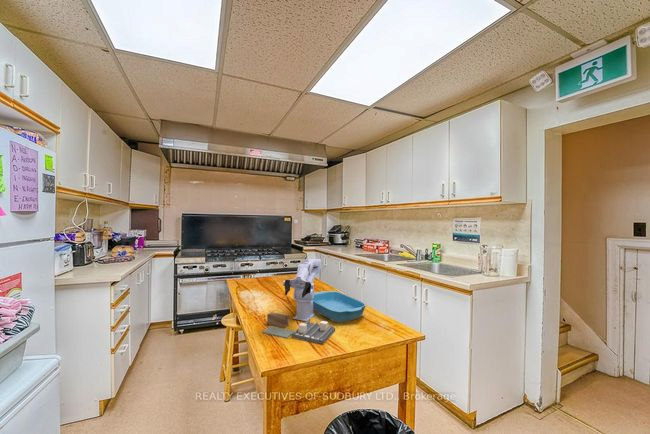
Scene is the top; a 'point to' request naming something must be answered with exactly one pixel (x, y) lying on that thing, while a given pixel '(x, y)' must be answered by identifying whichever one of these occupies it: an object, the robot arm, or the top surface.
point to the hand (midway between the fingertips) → (294, 294)
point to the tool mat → (278, 332)
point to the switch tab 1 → (302, 328)
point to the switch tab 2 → (323, 326)
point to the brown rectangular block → (278, 319)
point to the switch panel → (314, 333)
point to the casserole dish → (338, 306)
